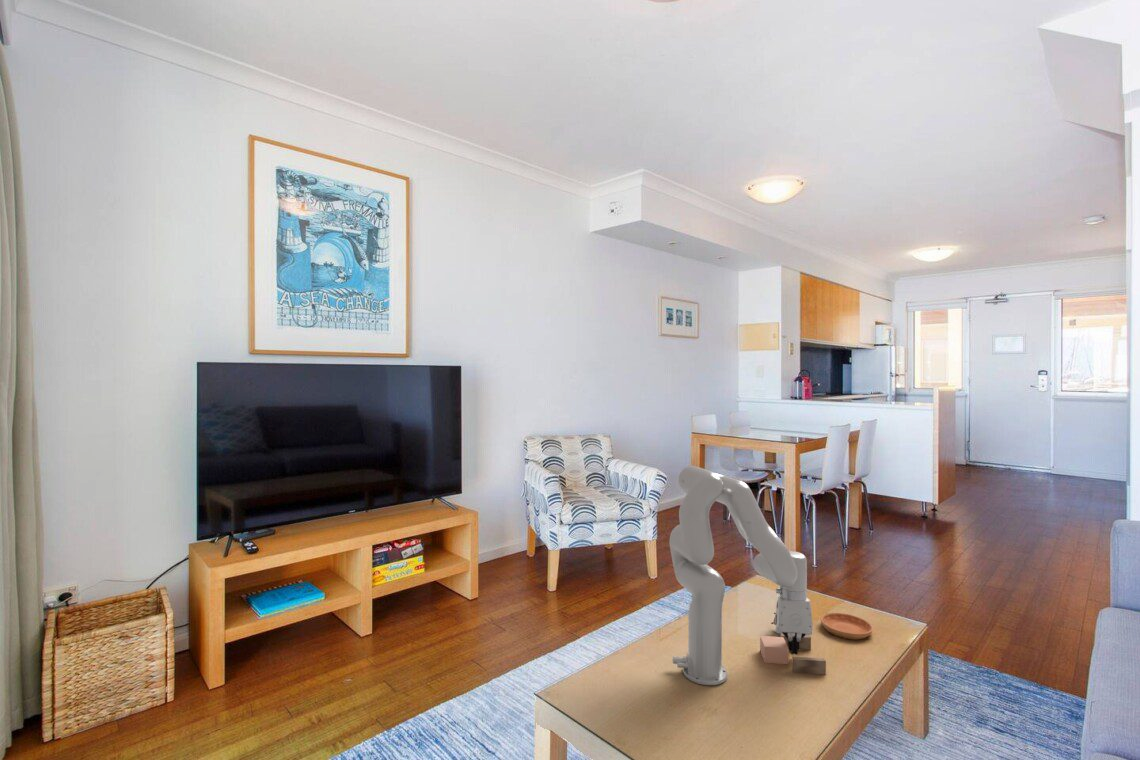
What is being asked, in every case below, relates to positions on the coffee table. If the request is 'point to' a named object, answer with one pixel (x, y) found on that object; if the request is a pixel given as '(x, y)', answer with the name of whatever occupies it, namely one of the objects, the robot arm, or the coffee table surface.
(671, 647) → the coffee table surface
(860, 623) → the saucer
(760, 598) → the coffee table surface
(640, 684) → the coffee table surface
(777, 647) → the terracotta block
